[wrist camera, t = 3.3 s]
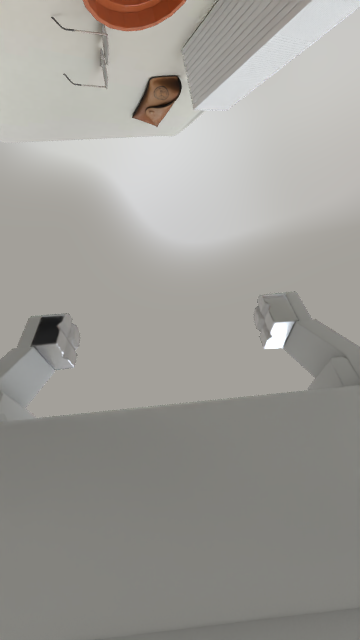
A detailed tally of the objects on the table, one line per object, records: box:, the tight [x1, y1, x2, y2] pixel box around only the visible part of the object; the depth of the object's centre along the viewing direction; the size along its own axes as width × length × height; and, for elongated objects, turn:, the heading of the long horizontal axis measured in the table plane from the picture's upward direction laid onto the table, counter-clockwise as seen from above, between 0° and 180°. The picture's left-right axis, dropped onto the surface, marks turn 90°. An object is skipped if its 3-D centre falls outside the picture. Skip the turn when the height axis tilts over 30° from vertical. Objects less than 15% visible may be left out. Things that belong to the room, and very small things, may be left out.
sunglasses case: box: [132, 76, 182, 127], centre depth 68 cm, size 18×7×7 cm, turn 155°
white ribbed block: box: [182, 0, 360, 110], centre depth 44 cm, size 32×11×11 cm, turn 145°
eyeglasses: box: [51, 17, 109, 89], centre depth 46 cm, size 14×8×4 cm, turn 162°
